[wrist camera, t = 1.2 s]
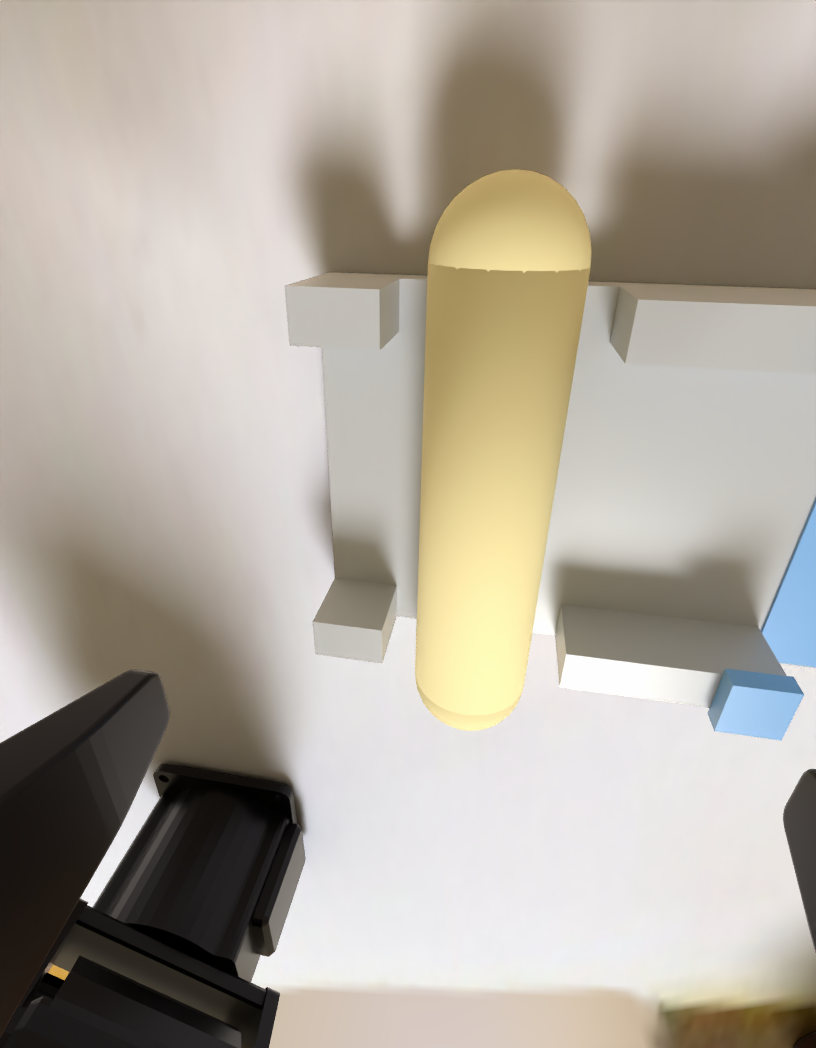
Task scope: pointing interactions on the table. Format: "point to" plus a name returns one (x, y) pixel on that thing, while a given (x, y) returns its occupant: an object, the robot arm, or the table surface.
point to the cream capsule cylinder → (493, 433)
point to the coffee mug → (807, 1041)
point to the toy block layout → (604, 488)
